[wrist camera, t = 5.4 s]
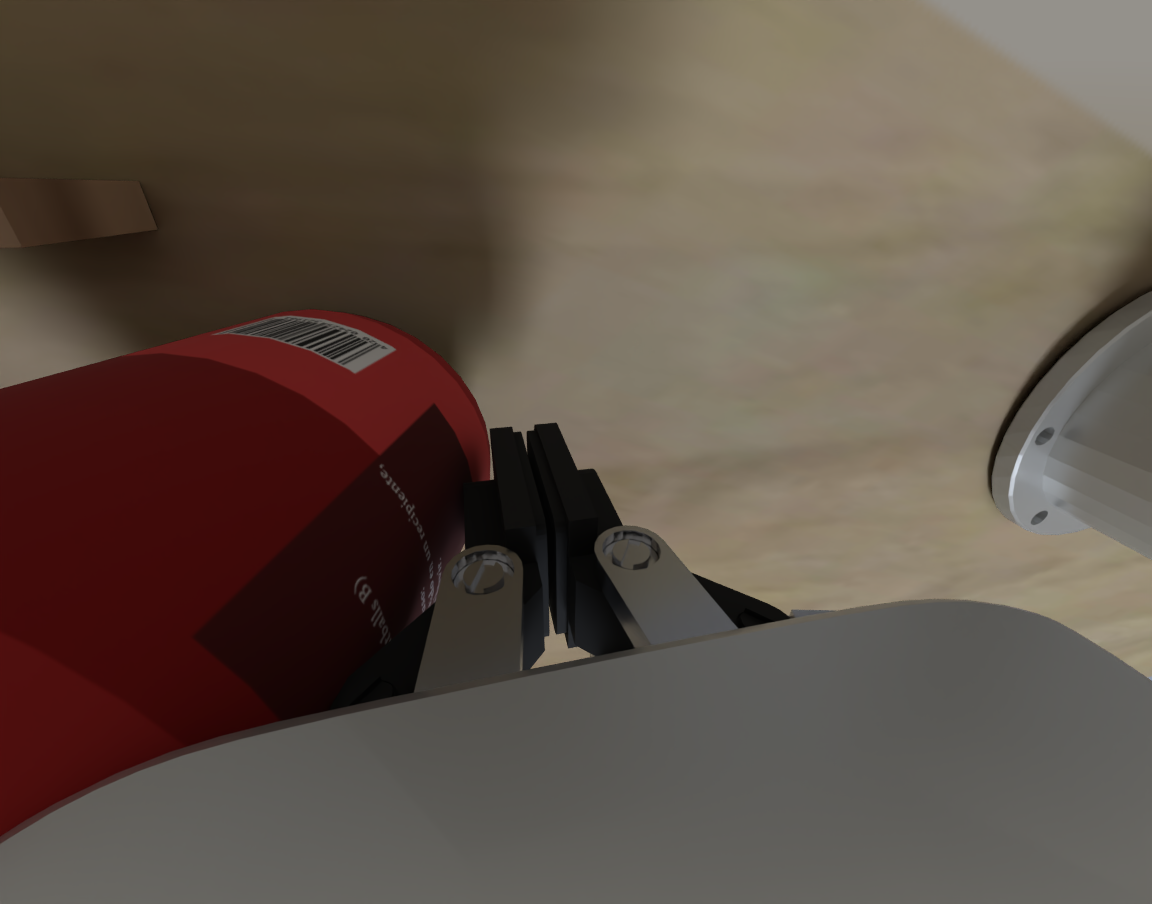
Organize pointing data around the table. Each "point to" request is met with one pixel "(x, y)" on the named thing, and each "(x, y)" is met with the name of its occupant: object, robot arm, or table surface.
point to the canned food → (216, 537)
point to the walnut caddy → (69, 210)
